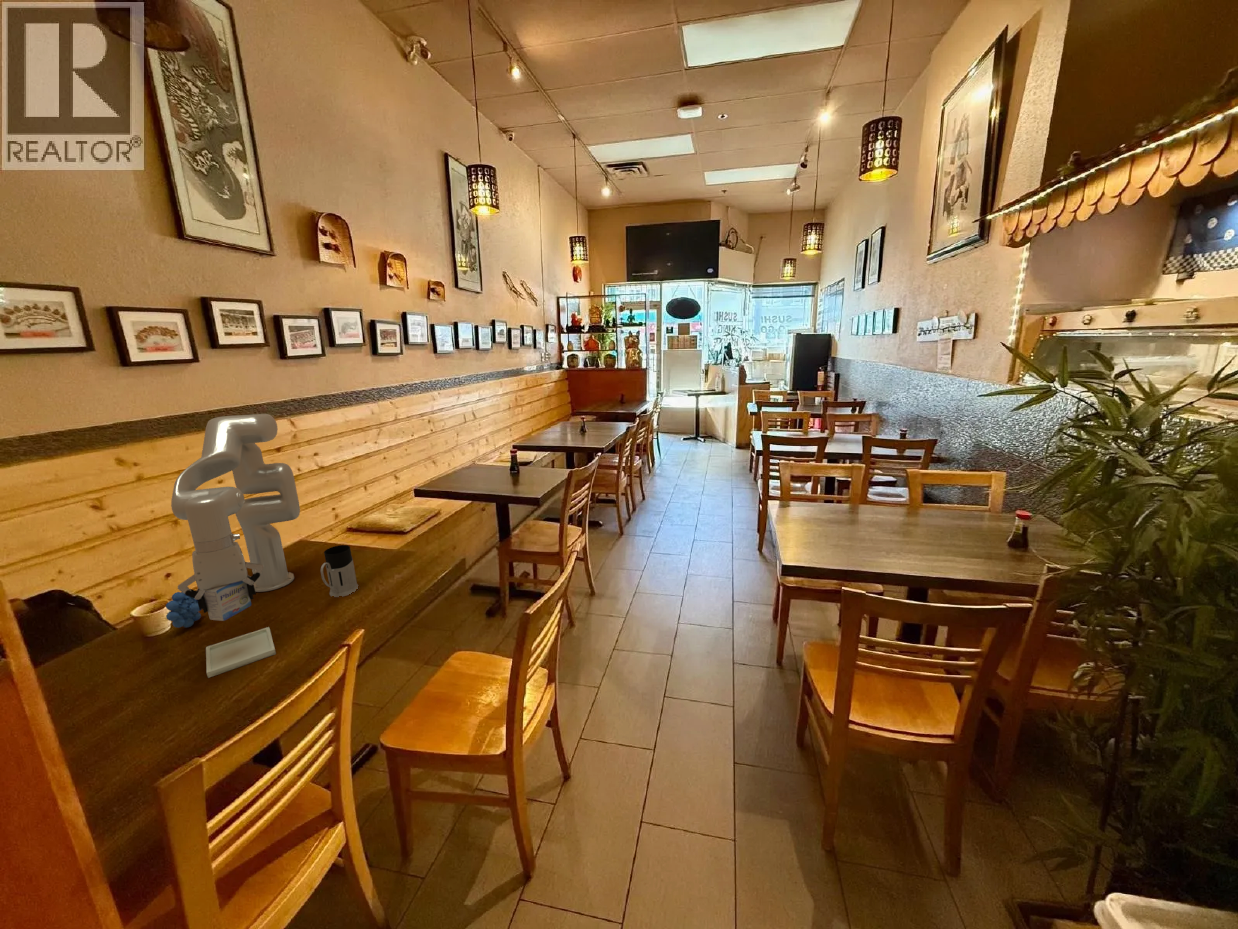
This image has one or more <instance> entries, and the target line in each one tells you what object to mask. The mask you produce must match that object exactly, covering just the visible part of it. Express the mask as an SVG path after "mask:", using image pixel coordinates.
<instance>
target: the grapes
mask: <svg viewBox="0 0 1238 929" xmlns="http://www.w3.org/2000/svg"><path fill="white" fill-rule="evenodd" d="M165 608H166V610H168V612H167V613H166V615H165V618H166V619H167V620H168V621H169V622H172V626H173V627H174V628H178V629H179V628H182V627H183V628H185V629H186V628H190V627H192V626H193V625H194V624H195V622H197V621H199V620H200V619H201V617H202V614H201V613H200V612H201V611H202V610H203V609H201V610H200V609H199V606H198V602H197V600H196V599H195V598H192V597H189V596H187V595H185V594H184V593H183V592H181V591H177V592H175V593H173V594H172V595H171V600H170V601H168V602H166V604H165Z"/></svg>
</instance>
